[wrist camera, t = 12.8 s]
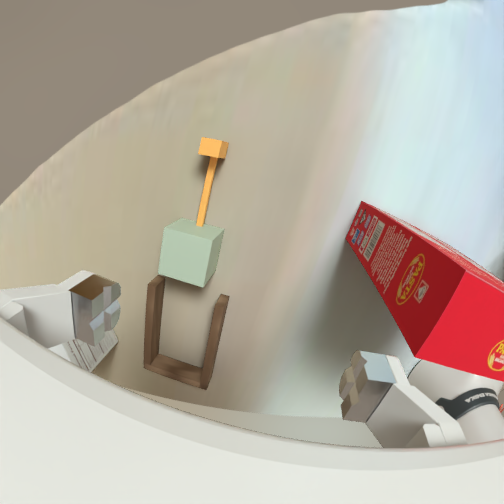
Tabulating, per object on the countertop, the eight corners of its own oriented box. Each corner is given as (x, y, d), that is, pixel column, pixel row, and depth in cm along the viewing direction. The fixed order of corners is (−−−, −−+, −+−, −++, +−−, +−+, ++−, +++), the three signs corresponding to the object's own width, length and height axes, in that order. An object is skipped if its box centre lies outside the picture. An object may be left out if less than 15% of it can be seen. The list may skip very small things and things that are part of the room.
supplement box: (92, 342, 49) (55, 379, 37) (77, 308, 47) (34, 342, 35) (120, 342, 47) (82, 384, 36) (104, 305, 46) (60, 343, 34)
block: (244, 146, 35) (234, 143, 30) (215, 270, 41) (203, 287, 35) (199, 137, 36) (182, 133, 30) (175, 258, 41) (158, 273, 35)
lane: (229, 296, 41) (223, 307, 38) (211, 376, 46) (206, 389, 43) (158, 275, 42) (147, 284, 39) (151, 356, 47) (143, 367, 44)
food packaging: (345, 238, 37) (414, 357, 13) (361, 200, 35) (466, 270, 11) (431, 277, 36) (531, 388, 13) (447, 244, 35) (566, 333, 11)
